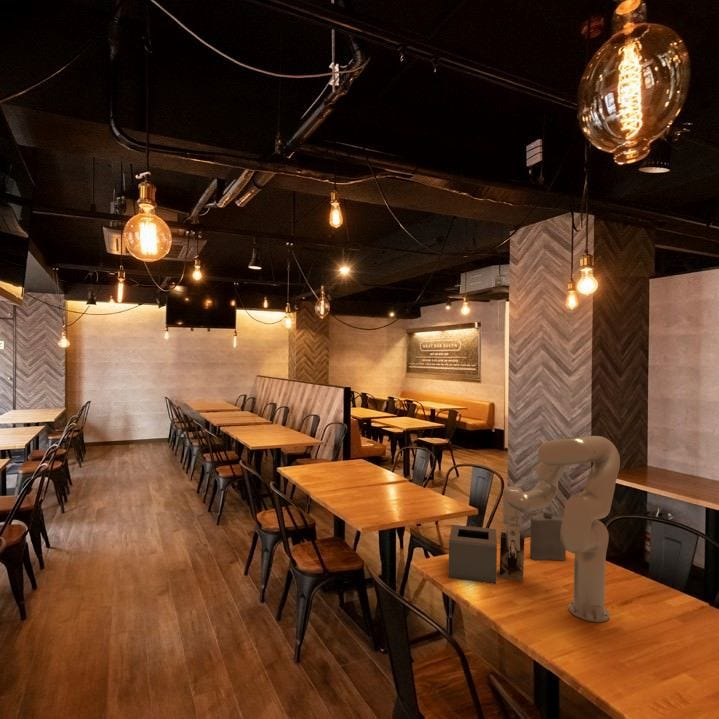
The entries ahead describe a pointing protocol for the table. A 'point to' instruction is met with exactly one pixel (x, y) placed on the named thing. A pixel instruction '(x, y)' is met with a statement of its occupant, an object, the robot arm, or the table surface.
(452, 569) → the slot box
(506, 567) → the coffee box
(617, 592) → the table surface
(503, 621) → the table surface
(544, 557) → the flask
